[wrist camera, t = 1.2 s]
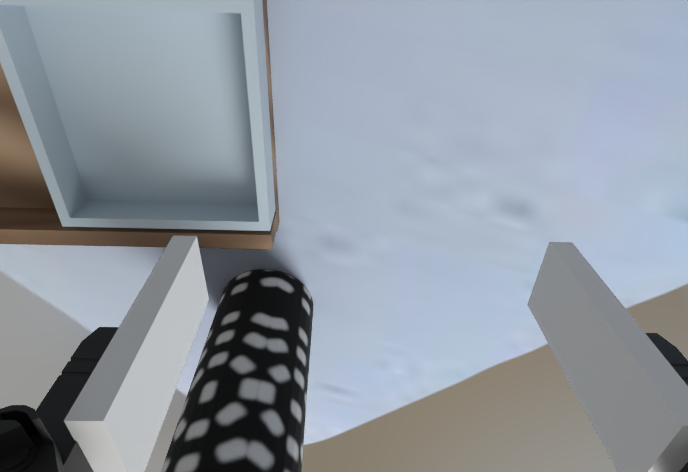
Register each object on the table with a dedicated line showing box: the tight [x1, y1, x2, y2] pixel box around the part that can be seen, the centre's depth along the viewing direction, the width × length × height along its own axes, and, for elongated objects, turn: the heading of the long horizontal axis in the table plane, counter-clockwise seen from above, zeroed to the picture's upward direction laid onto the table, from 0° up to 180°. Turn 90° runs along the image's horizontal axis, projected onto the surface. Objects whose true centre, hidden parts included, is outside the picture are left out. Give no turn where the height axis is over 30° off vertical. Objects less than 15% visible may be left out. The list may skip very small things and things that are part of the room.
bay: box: [0, 0, 279, 249], centre depth 27 cm, size 18×25×4 cm
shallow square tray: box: [0, 0, 275, 231], centre depth 27 cm, size 14×14×3 cm
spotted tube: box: [161, 269, 313, 472], centre depth 31 cm, size 8×8×20 cm
